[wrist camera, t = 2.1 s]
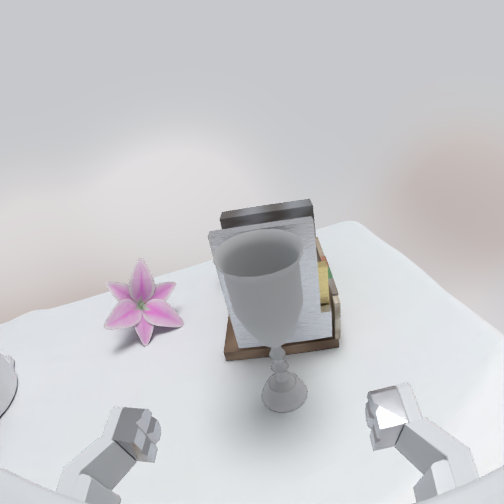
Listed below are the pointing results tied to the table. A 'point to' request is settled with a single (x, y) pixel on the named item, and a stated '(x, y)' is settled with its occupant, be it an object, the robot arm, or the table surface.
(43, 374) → the table surface
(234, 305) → the chalice
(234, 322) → the grey metal angled plate
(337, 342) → the wooden book stand
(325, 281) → the drag pointer
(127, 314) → the lily
